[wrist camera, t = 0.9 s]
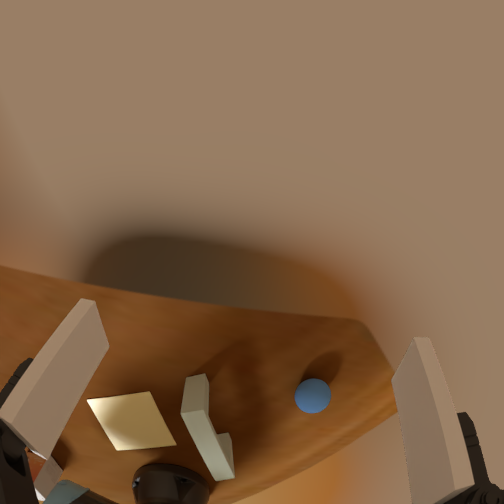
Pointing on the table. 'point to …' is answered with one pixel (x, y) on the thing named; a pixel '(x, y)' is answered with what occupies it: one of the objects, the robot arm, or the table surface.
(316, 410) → the ball
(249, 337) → the table surface
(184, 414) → the bridge
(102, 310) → the table surface
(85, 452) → the table surface
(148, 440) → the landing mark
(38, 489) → the small box
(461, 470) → the robot arm
